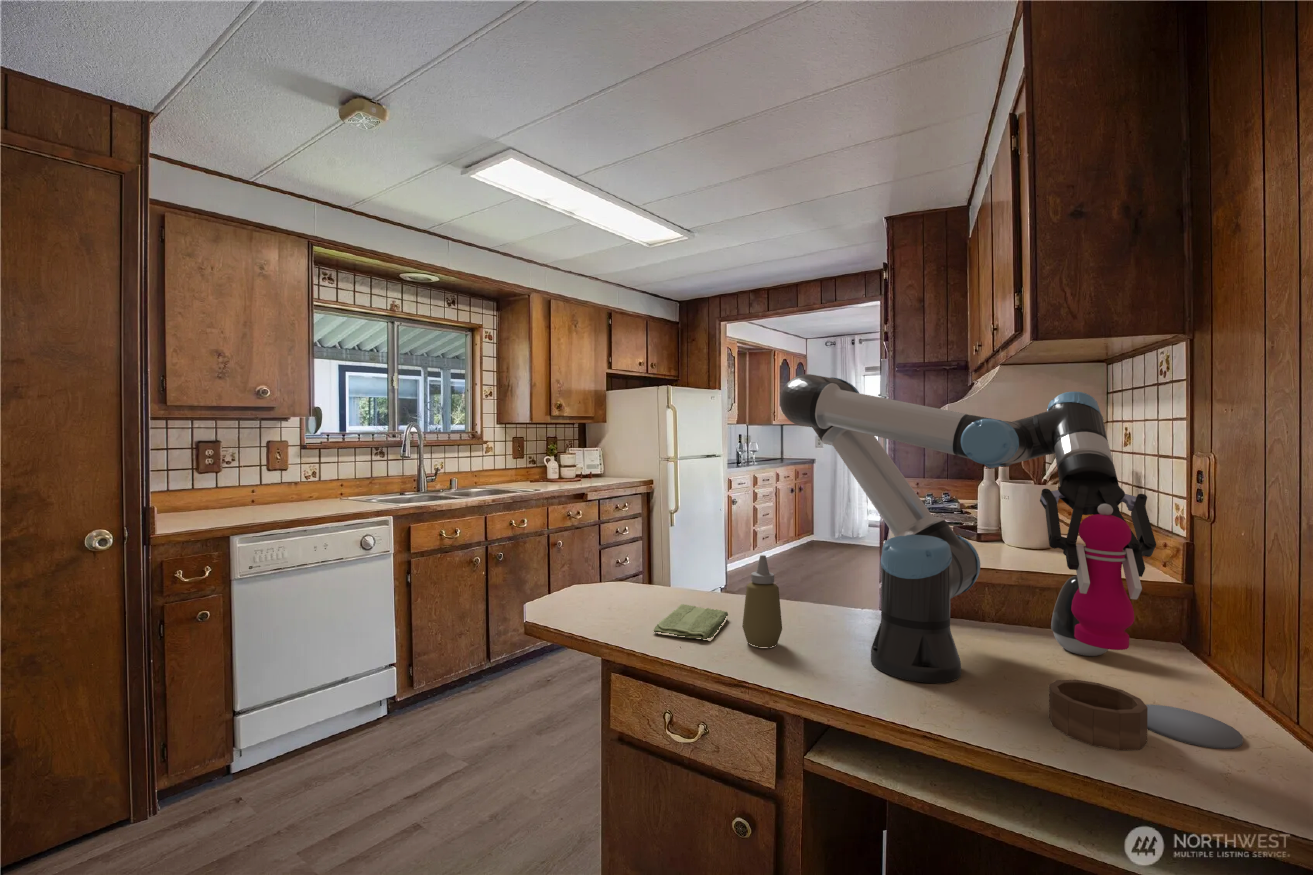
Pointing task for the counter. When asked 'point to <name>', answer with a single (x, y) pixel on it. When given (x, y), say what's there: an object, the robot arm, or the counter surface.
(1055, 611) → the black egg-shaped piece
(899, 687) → the counter surface
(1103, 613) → the pepper mill
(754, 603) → the squeeze bottle
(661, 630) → the washcloth
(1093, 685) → the brown wooden bowl
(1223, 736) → the coaster
